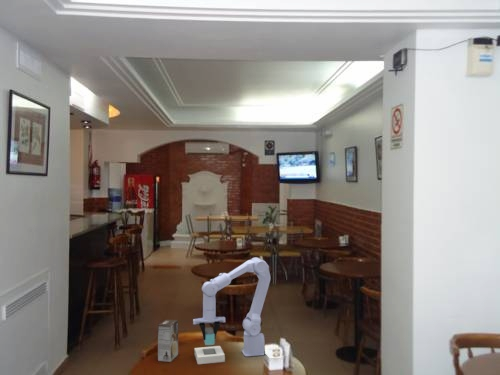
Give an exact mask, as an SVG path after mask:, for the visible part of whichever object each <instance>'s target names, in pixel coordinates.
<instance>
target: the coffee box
mask: <svg viewBox="0 0 500 375" xmlns="http://www.w3.org/2000/svg"><path fill="white" fill-rule="evenodd" d="M178 355H179V320H178V319H164V320H163V321H162V322H160V323H159V324H158V325H157V360H158V362H170V363H171V362H172V361H173V360H174V359H175V358H176V357H177V356H178Z"/></svg>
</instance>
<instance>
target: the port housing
mask: <svg viewBox="0 0 500 375" xmlns="http://www.w3.org/2000/svg"><path fill="white" fill-rule="evenodd" d="M193 352H194V358H195V360H196V363H197V365H204V364H205V365H206V364H217V363H226V356H225V355H226V354H225V353H224V350H223V349H222V347H221V345H214V346H212V345H211V346H204V347H194V351H193Z"/></svg>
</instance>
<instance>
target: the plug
mask: <svg viewBox="0 0 500 375" xmlns="http://www.w3.org/2000/svg"><path fill="white" fill-rule="evenodd" d="M215 340H216V339H215V334H214V331H213V327H205V340H203V343H204V345H205V346H212V345H214V346H216V345H215V342H216V341H215Z"/></svg>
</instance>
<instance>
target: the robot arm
mask: <svg viewBox="0 0 500 375" xmlns="http://www.w3.org/2000/svg"><path fill="white" fill-rule="evenodd" d="M245 273H255V275H256V276H257V278H258V281H257V285H256V287H255V288H256V289H255V292H254V295H253V299H252V303H251V305H250V309H249V312H248V313H247V314H246V317H245V318H244V319H243V321H242V327H243V329H244V332H243V349H241V350H240V351H241V352H242V354H243V356H244V357H245V358H246V357H256V356H257V357H258V356H265V355H264V346H265V345H266V344H265V334H264V333H262V332H261V330H262V328H261V322H262V318H261V314H262V311H263V306H264V305H265V304H264V303H265V301H266V296H267V294H268V290H269V286H270V283H271V279H272V278H271V273H270V266H269V264H268V263H267V262H266V261H265V260H264V259H260V258H259V257H257V256H256V257H252V258H251V259H248V260H246V261H245V262H243V263H242V264H240V265H239V266H237V267H235V268H234V269H232V270H231V271H229V272H228V273H226V272H220V273H219V274H218V276H216V277H214V278H211V279H209V281H205V282H204V283H203V284H202V286H201V292H202V296H203V297H202V317H198V318H193V319H192V325H199V327H200V331H201V334H202V339H203V341H204V340H205V328H206V325H205V324H212V329H213V331H214V334H215V340H216V338H217V333H218V330H219V328H220V326H221V323H226V317H225V316H216V314H217V313H216V311H217V310H216V307H217V306H216V302H217V300H216V294H217V292H219V291H220V290H222V289H224V288H225V287H227V286H228V285H230V284H231V282H232V280H233V279H235V278H238V277H240V276H241V275H244V274H245Z"/></svg>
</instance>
